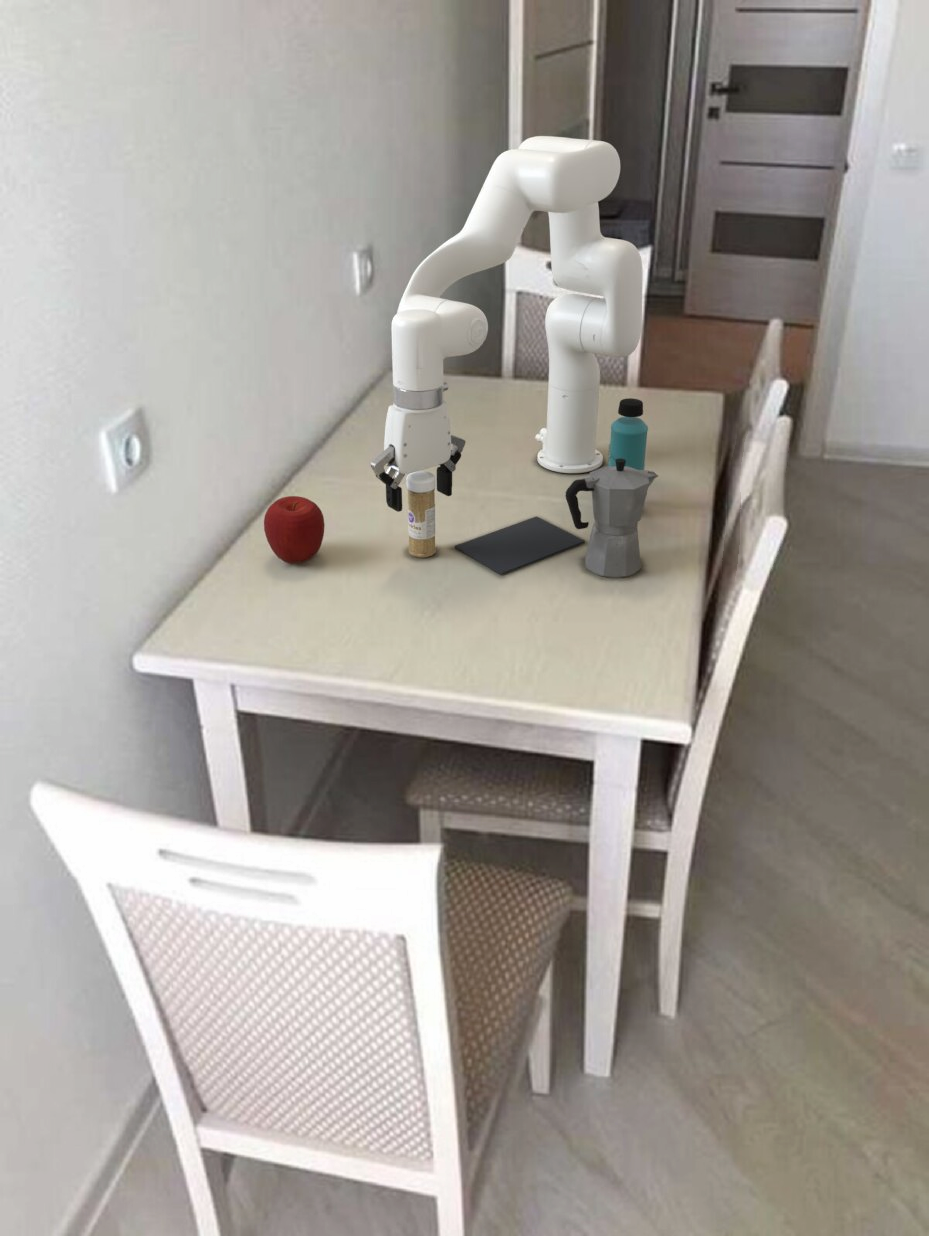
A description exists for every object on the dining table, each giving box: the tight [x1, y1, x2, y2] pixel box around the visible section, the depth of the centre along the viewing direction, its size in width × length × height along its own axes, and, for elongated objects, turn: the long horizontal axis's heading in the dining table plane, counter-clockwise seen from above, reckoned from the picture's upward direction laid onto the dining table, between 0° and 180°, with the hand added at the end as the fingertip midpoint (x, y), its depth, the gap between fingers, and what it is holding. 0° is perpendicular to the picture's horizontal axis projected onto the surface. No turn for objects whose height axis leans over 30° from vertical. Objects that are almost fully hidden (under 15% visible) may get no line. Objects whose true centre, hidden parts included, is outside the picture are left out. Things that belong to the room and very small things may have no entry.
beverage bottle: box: [607, 397, 649, 470], centre depth 181 cm, size 6×7×20 cm
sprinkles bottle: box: [405, 470, 437, 559], centre depth 169 cm, size 5×5×13 cm
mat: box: [454, 516, 586, 576], centre depth 174 cm, size 12×18×1 cm, turn 128°
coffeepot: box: [565, 458, 659, 579], centre depth 163 cm, size 15×9×18 cm, turn 110°
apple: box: [263, 495, 326, 564], centre depth 168 cm, size 10×10×10 cm
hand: (419, 500), depth 167 cm, fingers open, 9 cm apart
